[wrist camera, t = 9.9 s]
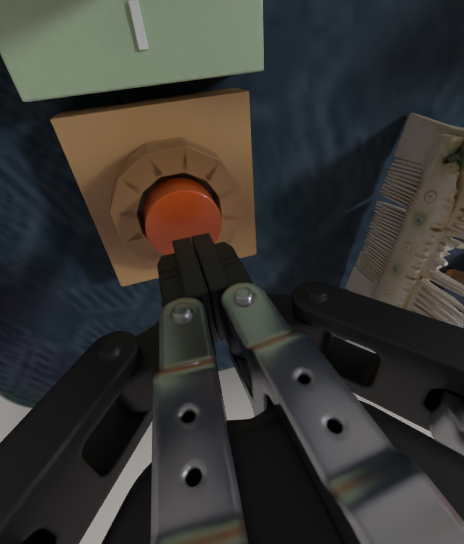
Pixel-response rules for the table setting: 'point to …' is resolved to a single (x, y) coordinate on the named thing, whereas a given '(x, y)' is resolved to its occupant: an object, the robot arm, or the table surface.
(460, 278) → the lion figurine
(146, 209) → the button
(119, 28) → the green dial box
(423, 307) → the comb
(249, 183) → the button box
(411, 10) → the table surface
